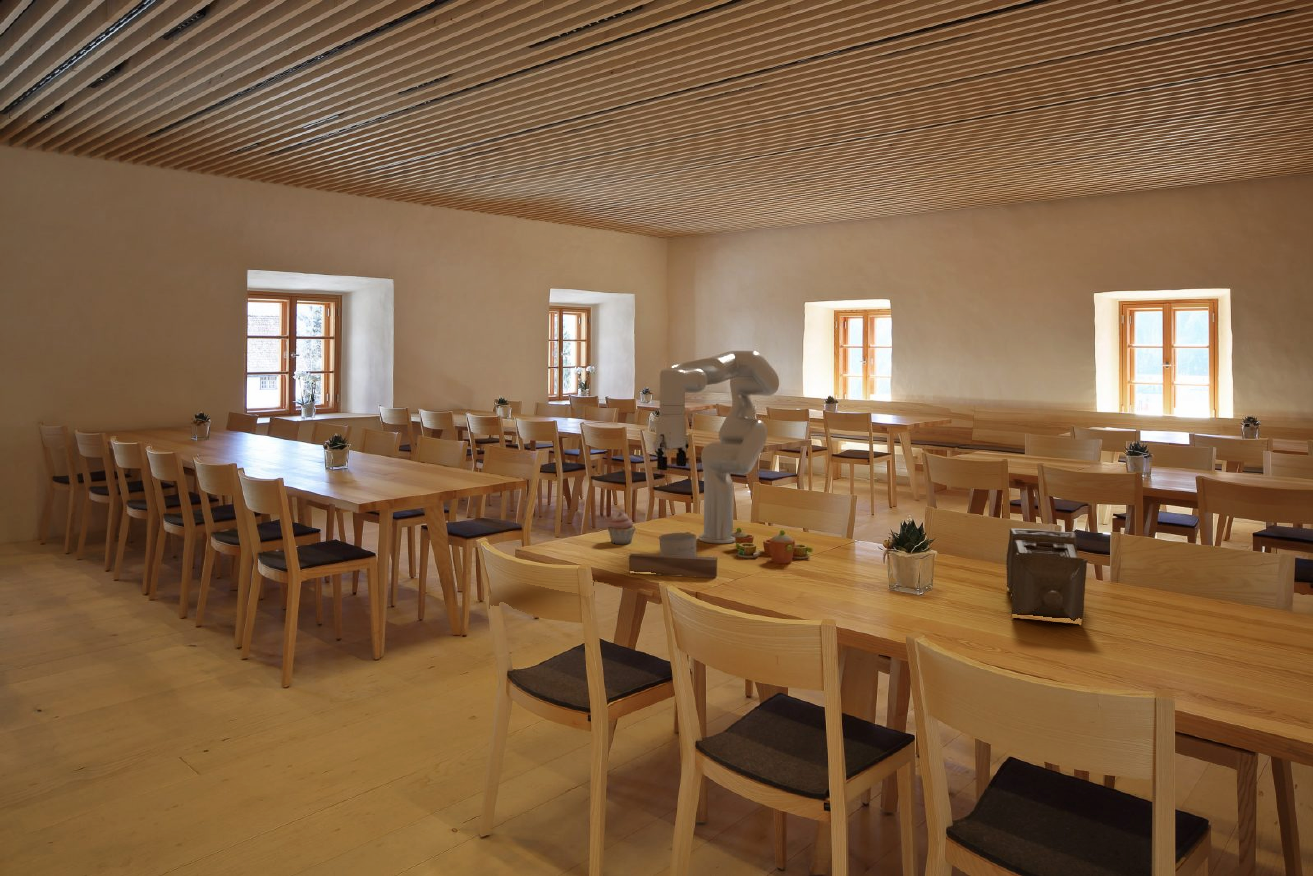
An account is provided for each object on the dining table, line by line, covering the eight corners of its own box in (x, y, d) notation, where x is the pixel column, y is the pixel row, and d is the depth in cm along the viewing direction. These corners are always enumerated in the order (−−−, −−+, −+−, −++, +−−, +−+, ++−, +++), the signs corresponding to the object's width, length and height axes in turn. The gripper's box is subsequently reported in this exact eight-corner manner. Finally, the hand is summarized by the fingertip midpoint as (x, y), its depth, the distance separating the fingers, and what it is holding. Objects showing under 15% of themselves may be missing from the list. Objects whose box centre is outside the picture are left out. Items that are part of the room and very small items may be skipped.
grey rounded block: (681, 569, 257) (682, 541, 256) (651, 563, 263) (651, 535, 262) (709, 559, 268) (709, 533, 267) (679, 554, 274) (679, 528, 273)
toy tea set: (816, 557, 273) (817, 525, 272) (794, 568, 260) (795, 534, 259) (740, 546, 287) (740, 516, 286) (715, 555, 274) (715, 524, 273)
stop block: (631, 571, 254) (631, 553, 253) (717, 575, 250) (717, 557, 249) (629, 573, 251) (629, 556, 250) (715, 578, 247) (716, 559, 246)
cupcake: (602, 541, 292) (602, 510, 291) (628, 538, 296) (629, 508, 295) (613, 547, 283) (613, 515, 282) (640, 544, 287) (640, 513, 286)
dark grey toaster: (1087, 651, 198) (1104, 570, 195) (1001, 631, 204) (1017, 552, 201) (1071, 603, 231) (1086, 534, 228) (998, 588, 237) (1011, 520, 233)
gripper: (678, 408, 279) (678, 463, 280) (644, 411, 265) (644, 470, 267) (698, 409, 274) (698, 465, 276) (665, 413, 260) (665, 472, 262)
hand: (671, 468), depth 271 cm, fingers open, 9 cm apart
